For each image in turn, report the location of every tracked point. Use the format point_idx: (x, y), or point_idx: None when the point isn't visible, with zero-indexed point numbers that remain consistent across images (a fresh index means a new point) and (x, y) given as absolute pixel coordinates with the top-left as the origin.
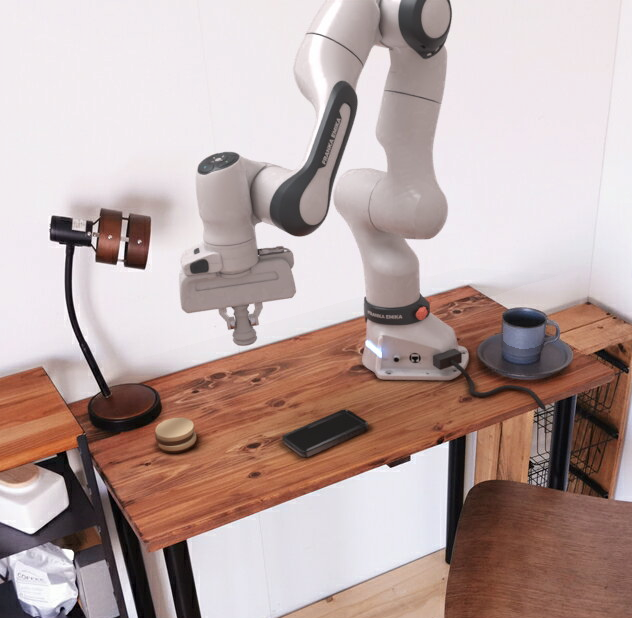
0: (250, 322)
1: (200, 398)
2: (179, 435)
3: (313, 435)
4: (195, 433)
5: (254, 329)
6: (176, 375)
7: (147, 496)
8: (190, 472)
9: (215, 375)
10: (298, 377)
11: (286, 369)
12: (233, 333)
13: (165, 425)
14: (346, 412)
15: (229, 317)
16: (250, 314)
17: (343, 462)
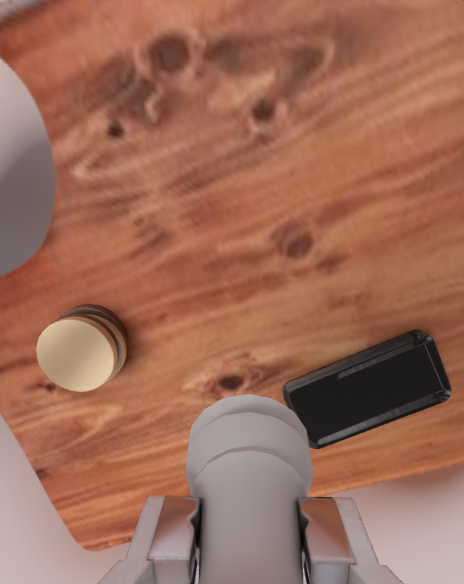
0: (302, 552)
1: (128, 169)
2: (88, 388)
3: (340, 403)
4: (122, 351)
5: (309, 467)
6: (58, 14)
7: (63, 466)
8: (123, 427)
9: (162, 48)
10: (367, 128)
11: (347, 69)
12: (189, 482)
13: (55, 344)
14: (425, 344)
15: (153, 573)
16: (325, 571)
17: (367, 465)
